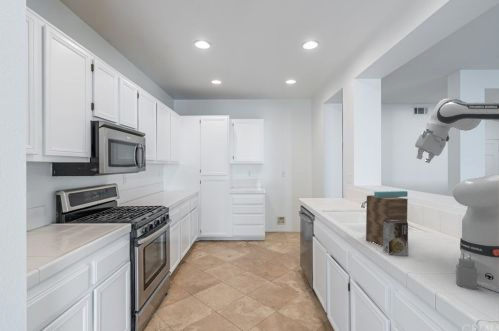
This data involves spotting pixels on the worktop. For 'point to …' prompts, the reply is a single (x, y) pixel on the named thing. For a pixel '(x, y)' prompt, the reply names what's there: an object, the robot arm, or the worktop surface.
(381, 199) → the walnut stand
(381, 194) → the teal bar
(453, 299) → the worktop surface
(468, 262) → the power adapter
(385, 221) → the coffee box
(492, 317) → the worktop surface
